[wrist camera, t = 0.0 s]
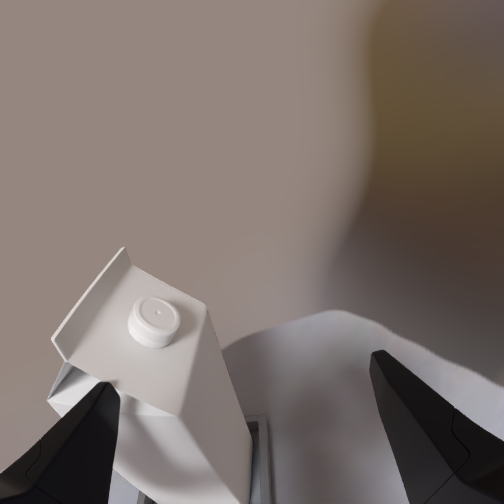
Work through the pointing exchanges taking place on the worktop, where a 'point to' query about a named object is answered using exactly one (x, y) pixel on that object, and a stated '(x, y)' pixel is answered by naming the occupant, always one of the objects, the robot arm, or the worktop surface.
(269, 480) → the drip tray
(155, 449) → the milk carton
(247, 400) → the worktop surface
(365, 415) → the worktop surface
